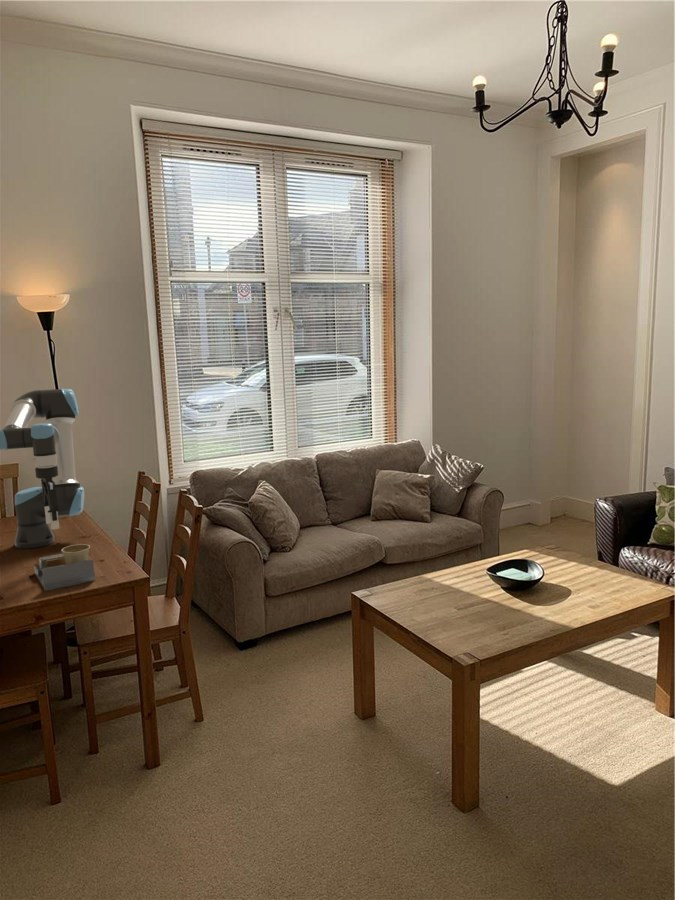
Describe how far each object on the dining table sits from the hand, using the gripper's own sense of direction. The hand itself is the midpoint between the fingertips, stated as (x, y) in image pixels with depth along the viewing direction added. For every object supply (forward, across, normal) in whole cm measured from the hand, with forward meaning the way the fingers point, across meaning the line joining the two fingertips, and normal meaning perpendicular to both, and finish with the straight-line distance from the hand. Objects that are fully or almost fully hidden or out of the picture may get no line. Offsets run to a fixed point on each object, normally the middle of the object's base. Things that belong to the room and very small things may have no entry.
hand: (52, 525), depth 243 cm
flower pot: (+14, +17, +4) cm, 22 cm away
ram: (+14, +7, 0) cm, 15 cm away
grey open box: (+16, +14, 0) cm, 21 cm away
